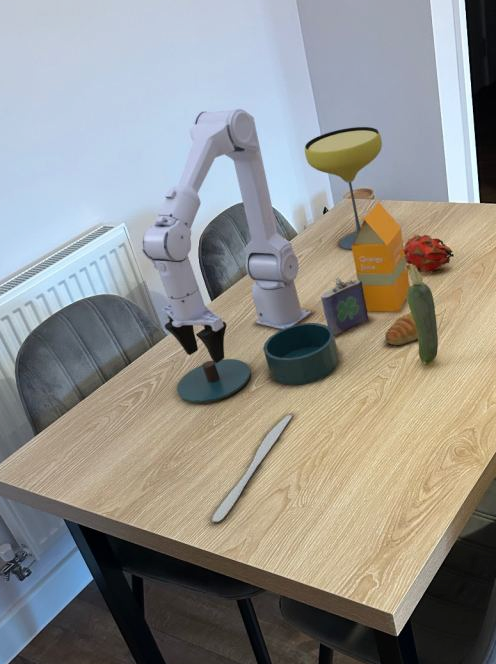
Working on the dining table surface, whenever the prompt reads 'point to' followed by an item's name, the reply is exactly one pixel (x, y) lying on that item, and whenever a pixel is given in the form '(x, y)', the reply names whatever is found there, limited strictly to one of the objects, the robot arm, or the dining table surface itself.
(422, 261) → the dragon fruit
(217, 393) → the lid
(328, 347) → the pan
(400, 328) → the pastry
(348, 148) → the cocktail glass
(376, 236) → the orange juice
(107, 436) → the dining table surface
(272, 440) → the butter knife
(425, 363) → the vegetable
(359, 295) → the flask
